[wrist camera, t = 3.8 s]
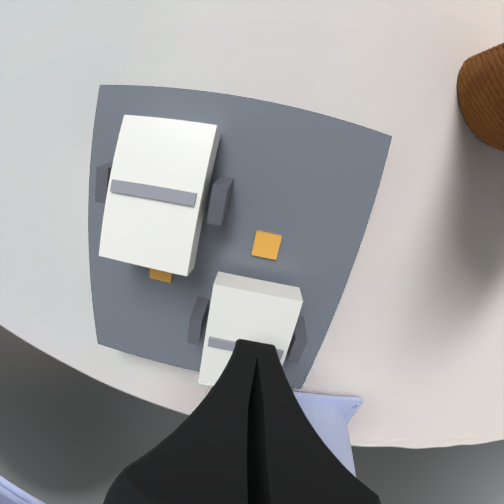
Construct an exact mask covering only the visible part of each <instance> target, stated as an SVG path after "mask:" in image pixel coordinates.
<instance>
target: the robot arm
mask: <svg viewBox="0 0 504 504" xmlns="http://www.w3.org/2000/svg"><path fill="white" fill-rule="evenodd" d="M361 404H362V399H361V398H360V397H349V396H335V395H323V394H312V393H303V392H294V391H292V389H291V386H290V384H289V382H288V380H287V378H286V375H285V373H284V370H283V368H282V365H281V362H280V359H279V356H278V353H277V350H276V347H275V346H274V345H272V344H266V343H260V342H255V341H249V340H244V339H238V340H236V343H235V347H234V350H233V353H232V355H231V357H230V359H229V361H228V363H227V365H226V367H225V369H224V370H223V372H222V374H221V375H220V377H219V379H218V380H217V382H216V383H215V385H214V386H213V387H212V389H211V390H210V392H209V393H208V394H207V396H206V397H205V398H204V400H203V401H202V402H201V403H200V404H199V406H198V407H197V408H196V409H195V410H194V411H193V412H192V414H191V415H190V416H189V417H188V418H187V419H186V420H185V421H184V422H183V423H182V424H181V425H180V426H179V427H178V428H177V429H176V430H175V431H174V432H173V433H172V434H170V435H169V436H168V437H167V438H166V439H164V440H163V441H162V442H161V443H160V444H158V445H157V446H156V447H155V448H153V449H152V450H151V451H149V452H148V453H147V454H145V455H144V456H142V457H141V458H139V459H138V460H136V461H135V462H133V463H132V464H130V465H129V466H127V467H126V468H124V470H123V471H122V472H121V473H120V474H119V476H118V477H117V478H116V479H115V481H114V482H113V484H112V485H111V487H110V488H109V490H108V492H107V494H106V497H105V500H104V503H103V504H381V503H380V500H379V496H378V495H377V494H375V493H374V492H373V491H372V490H370V489H369V488H368V487H366V486H365V485H364V484H363V483H362V482H360V481H359V480H358V479H357V478H356V474H355V468H354V462H353V456H352V450H351V444H350V439H349V433H348V428H347V423H348V422H349V420H350V419H351V418H352V416H353V415H354V414H355V412H356V411H357V409H358V408H359V407H360V405H361ZM0 504H45V503H43V502H42V501H40V500H38V499H36V498H35V497H33V496H31V495H29V494H28V493H26V492H25V491H23V490H21V489H20V488H18V487H17V486H15V485H14V484H12V483H11V482H9V481H7V480H6V479H5V478H3V477H2V476H0Z"/></svg>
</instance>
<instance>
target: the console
mask: <svg viewBox="0 0 504 504" xmlns="http://www.w3.org/2000/svg"><path fill="white" fill-rule="evenodd" d="M124 115H135V116H147V117H157V118H167V119H176V120H184V121H191V122H199V123H205V124H212V125H217V126H218V129H219V131H220V133H221V135H220V140H219V144H218V149H217V153H216V158H215V162H214V167H213V172H212V176H211V181H210V186H209V191H208V196H207V201H206V206H205V211H204V216H203V221H202V226H201V232H200V237H199V243H198V248H197V254H196V260H195V266H194V269H193V270H192V271H191V272H190V274H189V275H188V276H183V275H179V274H174V273H170V272H165V271H161V270H156V269H152V268H148V267H143V266H139V265H135V264H131V263H127V262H122V261H118V260H114V259H110V258H106V257H102V256H99V248H100V239H101V230H102V223H103V215H104V209H105V202H106V196H107V190H108V185H109V179H110V174H111V169H112V164H113V159H114V154H115V150H116V146H117V141H118V137H119V133H120V129H121V125H122V121H123V117H124ZM391 138H392V136H389V135H387V134H384V133H381V132H378V131H375V130H372V129H369V128H366V127H363V126H360V125H357V124H354V123H350V122H347V121H344V120H340V119H337V118H333V117H330V116H326V115H323V114H319V113H315V112H311V111H307V110H303V109H299V108H295V107H291V106H286V105H282V104H277V103H272V102H267V101H262V100H257V99H252V98H246V97H240V96H234V95H228V94H221V93H214V92H206V91H198V90H189V89H179V88H168V87H154V86H134V85H100V88H99V94H98V100H97V107H96V114H95V121H94V130H93V139H92V149H91V162H90V178H89V207H88V232H89V262H90V278H91V290H92V301H93V310H94V319H95V327H96V334H97V341H98V344H101V345H104V346H107V347H110V348H113V349H116V350H119V351H123V352H126V353H129V354H133V355H136V356H139V357H143V358H147V359H150V360H154V361H158V362H161V363H165V364H169V365H173V366H177V367H181V368H185V369H190V370H194V371H199V372H200V367H201V360H202V353H203V347H204V340H205V334H206V327H207V321H208V315H209V309H210V302H211V296H212V290H213V285H214V281H215V279H216V276H217V273H218V271H219V272H224V273H229V274H234V275H239V276H243V277H248V278H253V279H258V280H263V281H268V282H274V283H279V284H284V285H289V286H294V287H299V288H300V291H301V295H302V299H303V304H302V307H301V310H300V313H299V316H298V320H297V323H296V326H295V329H294V332H293V335H292V338H291V341H290V345H289V348H288V351H287V354H286V357H285V360H284V362H283V365H282V368H283V370H284V373H285V375H286V378H287V380H288V382H289V384H290V386H291V388H299V389H301V388H302V386H303V384H304V382H305V379H306V377H307V375H308V373H309V371H310V369H311V367H312V365H313V362H314V360H315V358H316V356H317V353H318V351H319V349H320V347H321V344H322V342H323V340H324V338H325V335H326V333H327V331H328V328H329V326H330V323H331V321H332V319H333V316H334V314H335V311H336V309H337V306H338V304H339V301H340V299H341V296H342V294H343V291H344V288H345V286H346V283H347V280H348V278H349V275H350V272H351V270H352V267H353V264H354V261H355V259H356V256H357V253H358V250H359V247H360V244H361V241H362V238H363V235H364V232H365V229H366V226H367V223H368V220H369V217H370V214H371V210H372V207H373V204H374V201H375V197H376V194H377V191H378V187H379V184H380V180H381V177H382V173H383V169H384V166H385V162H386V158H387V154H388V150H389V146H390V142H391Z"/></svg>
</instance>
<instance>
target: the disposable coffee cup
mask: <svg viewBox="0 0 504 504" xmlns="http://www.w3.org/2000/svg"><path fill="white" fill-rule="evenodd" d="M457 90H458V100H459V105H460V108H461V111H462V114H463V116H464V119H465V121H466V123H467V125H468V126H469V128H470V129H471V131H472V132H473V133H474V134H475V136H476V137H477V138H479V139H480V140H481V141H483V142H484V143H486V144H488V145H490V146H493V147H495V148H497V149H499V150H502V151H504V43H502V44H499V45H497V46H496V47H495V46H494V47H493V48H491V49H488V50H486V51H483V52H481V53H479V54H477V55H474V56H472V57H470V58H468V59H467V60H466V61H465V62H464V63H463V65H462V67H461V69H460V72H459V75H458V83H457Z"/></svg>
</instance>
